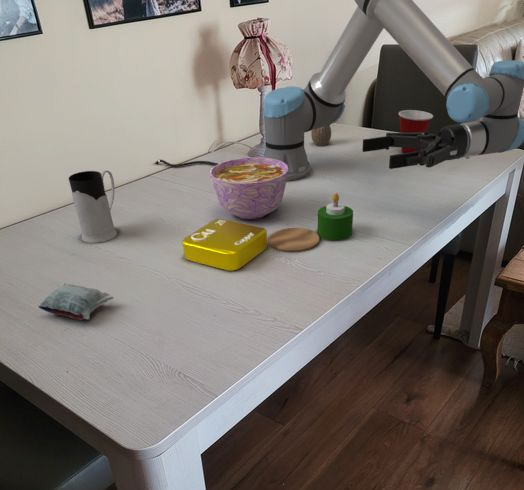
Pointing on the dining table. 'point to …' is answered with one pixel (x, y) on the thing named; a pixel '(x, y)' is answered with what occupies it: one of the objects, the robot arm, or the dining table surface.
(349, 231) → the candle
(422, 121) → the plastic cup
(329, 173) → the dining table surface
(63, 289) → the packaged food
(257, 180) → the bowl of food
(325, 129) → the vase
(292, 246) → the cork trivet
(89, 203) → the glass holder
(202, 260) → the element tile
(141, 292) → the dining table surface
